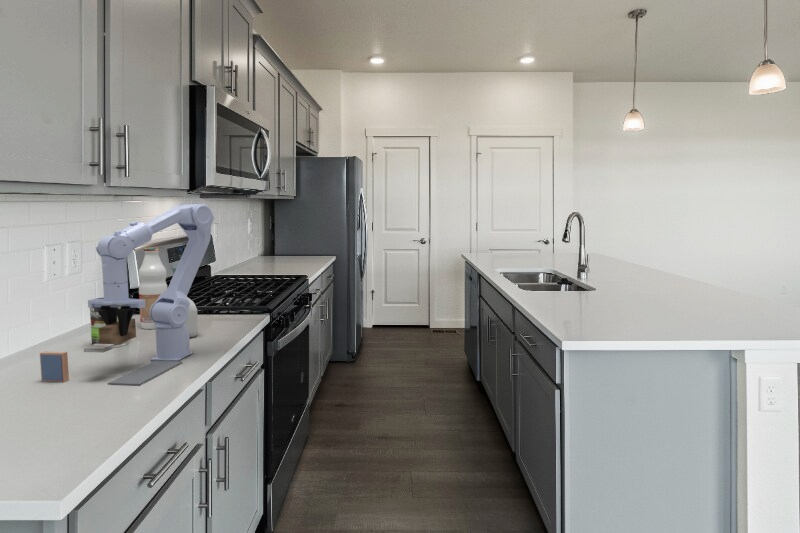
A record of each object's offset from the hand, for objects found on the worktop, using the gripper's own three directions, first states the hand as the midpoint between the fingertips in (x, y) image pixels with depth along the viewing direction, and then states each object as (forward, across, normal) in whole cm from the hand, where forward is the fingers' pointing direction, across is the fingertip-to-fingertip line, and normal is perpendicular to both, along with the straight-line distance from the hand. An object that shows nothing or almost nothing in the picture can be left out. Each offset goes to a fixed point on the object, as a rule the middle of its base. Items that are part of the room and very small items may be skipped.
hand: (118, 335), depth 156 cm
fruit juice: (+9, -21, +55) cm, 60 cm away
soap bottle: (+9, -4, +40) cm, 41 cm away
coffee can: (+9, -20, +27) cm, 35 cm away
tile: (+9, -10, -11) cm, 17 cm away
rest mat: (+9, +9, -2) cm, 13 cm away
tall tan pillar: (+2, 0, -2) cm, 3 cm away
